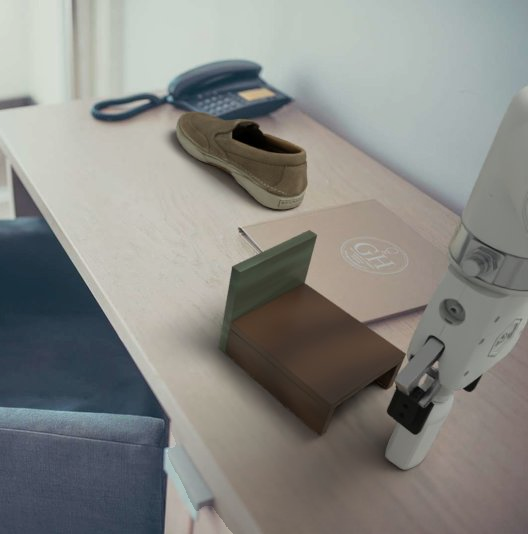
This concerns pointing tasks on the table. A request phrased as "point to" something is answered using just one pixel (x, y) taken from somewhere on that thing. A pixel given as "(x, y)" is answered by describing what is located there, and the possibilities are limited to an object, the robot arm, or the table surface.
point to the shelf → (300, 335)
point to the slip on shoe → (247, 157)
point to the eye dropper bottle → (417, 446)
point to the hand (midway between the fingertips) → (430, 401)
